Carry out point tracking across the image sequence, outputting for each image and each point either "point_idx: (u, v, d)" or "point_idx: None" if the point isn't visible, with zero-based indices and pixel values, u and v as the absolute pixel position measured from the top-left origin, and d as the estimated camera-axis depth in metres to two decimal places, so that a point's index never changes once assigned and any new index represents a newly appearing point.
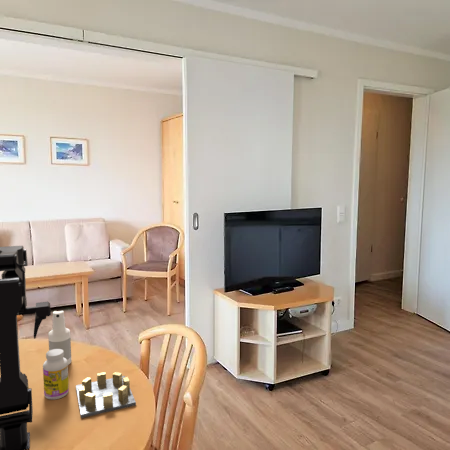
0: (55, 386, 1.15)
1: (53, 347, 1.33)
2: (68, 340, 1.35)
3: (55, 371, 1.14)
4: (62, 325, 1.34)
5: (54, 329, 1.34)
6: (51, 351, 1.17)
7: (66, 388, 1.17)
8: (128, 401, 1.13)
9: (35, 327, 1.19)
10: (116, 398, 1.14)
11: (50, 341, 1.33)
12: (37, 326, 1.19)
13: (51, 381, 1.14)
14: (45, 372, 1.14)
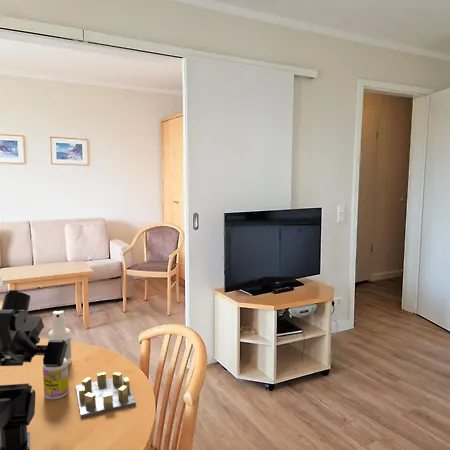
0: (55, 386, 1.15)
1: None
2: (68, 340, 1.35)
3: (55, 371, 1.14)
4: (62, 325, 1.34)
5: (54, 329, 1.34)
6: None
7: (66, 388, 1.17)
8: (128, 401, 1.13)
9: None
10: (116, 398, 1.14)
11: None
12: None
13: (51, 381, 1.14)
14: (45, 372, 1.14)
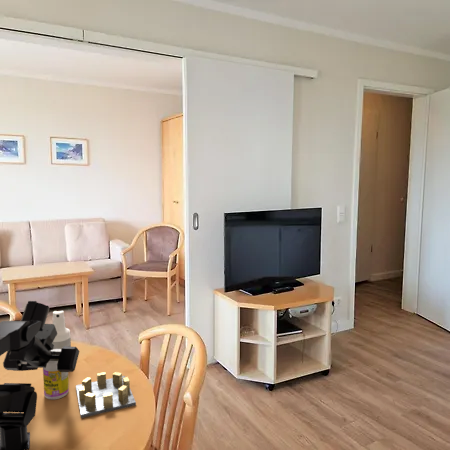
0: (55, 386, 1.15)
1: None
2: (68, 340, 1.35)
3: (55, 371, 1.14)
4: (62, 325, 1.34)
5: None
6: None
7: (66, 388, 1.17)
8: (128, 401, 1.13)
9: None
10: (116, 398, 1.14)
11: None
12: None
13: (51, 381, 1.14)
14: (45, 372, 1.14)
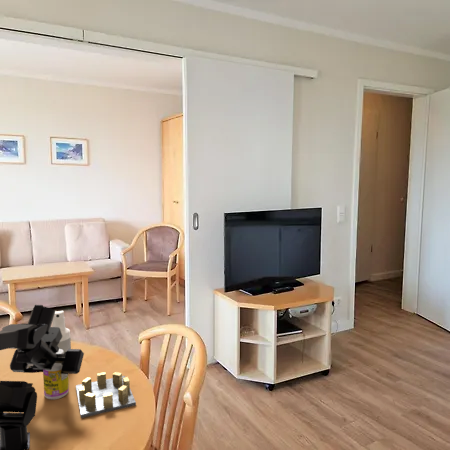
0: (55, 386, 1.15)
1: None
2: (68, 340, 1.35)
3: (55, 371, 1.14)
4: (62, 325, 1.34)
5: None
6: None
7: (66, 388, 1.17)
8: (128, 401, 1.13)
9: None
10: (116, 398, 1.14)
11: None
12: None
13: (51, 381, 1.14)
14: (45, 372, 1.14)
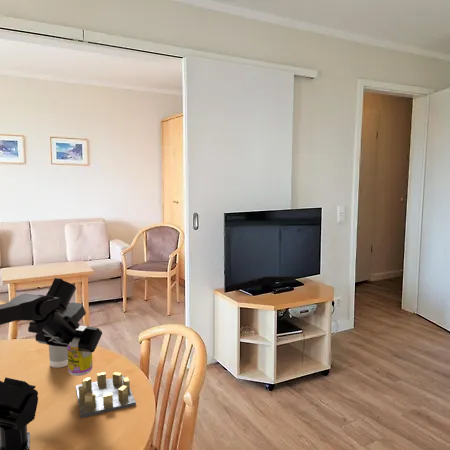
0: (76, 363, 1.14)
1: (53, 347, 1.33)
2: None
3: (76, 347, 1.13)
4: None
5: None
6: None
7: (88, 366, 1.16)
8: (128, 401, 1.13)
9: None
10: (116, 398, 1.14)
11: None
12: None
13: (72, 357, 1.14)
14: (68, 347, 1.15)
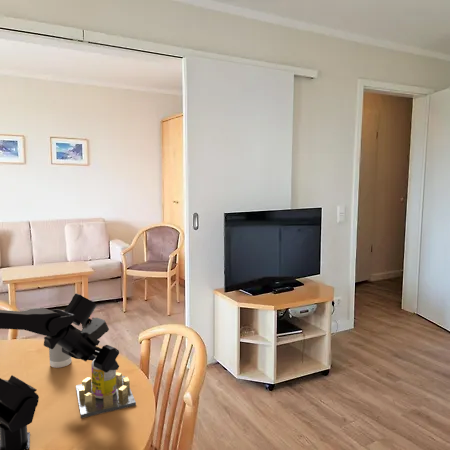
0: (98, 385, 1.13)
1: None
2: None
3: (98, 370, 1.12)
4: None
5: None
6: None
7: (110, 390, 1.14)
8: (128, 401, 1.13)
9: None
10: (116, 398, 1.14)
11: None
12: None
13: (94, 379, 1.13)
14: None
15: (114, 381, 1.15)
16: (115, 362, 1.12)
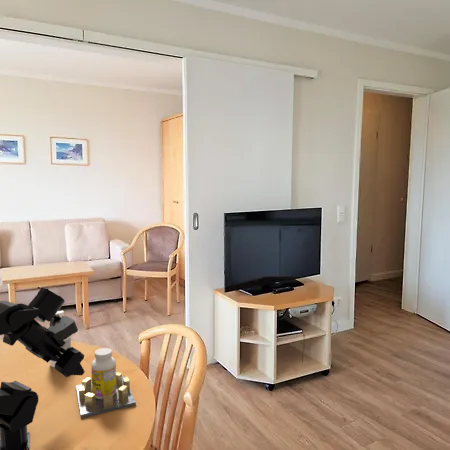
0: (98, 386, 1.13)
1: None
2: (68, 340, 1.35)
3: (98, 371, 1.12)
4: None
5: None
6: (101, 349, 1.16)
7: (110, 391, 1.14)
8: (128, 401, 1.13)
9: None
10: (116, 398, 1.14)
11: None
12: None
13: (94, 379, 1.13)
14: None
15: (114, 381, 1.15)
16: (80, 367, 1.03)
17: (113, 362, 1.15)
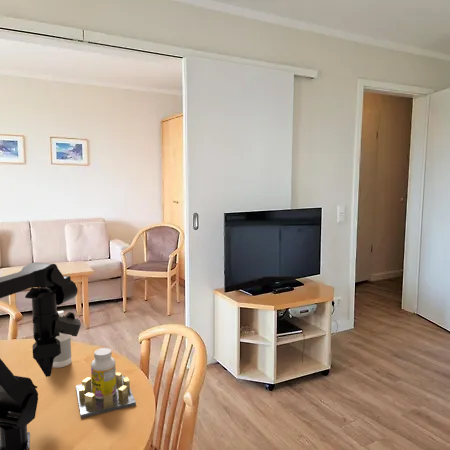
0: (98, 386, 1.13)
1: None
2: (68, 340, 1.35)
3: (97, 371, 1.12)
4: None
5: None
6: (101, 349, 1.16)
7: (110, 390, 1.14)
8: (128, 401, 1.13)
9: None
10: (116, 398, 1.14)
11: None
12: None
13: (94, 380, 1.13)
14: (91, 369, 1.14)
15: (114, 381, 1.15)
16: (50, 366, 1.01)
17: (113, 362, 1.15)
